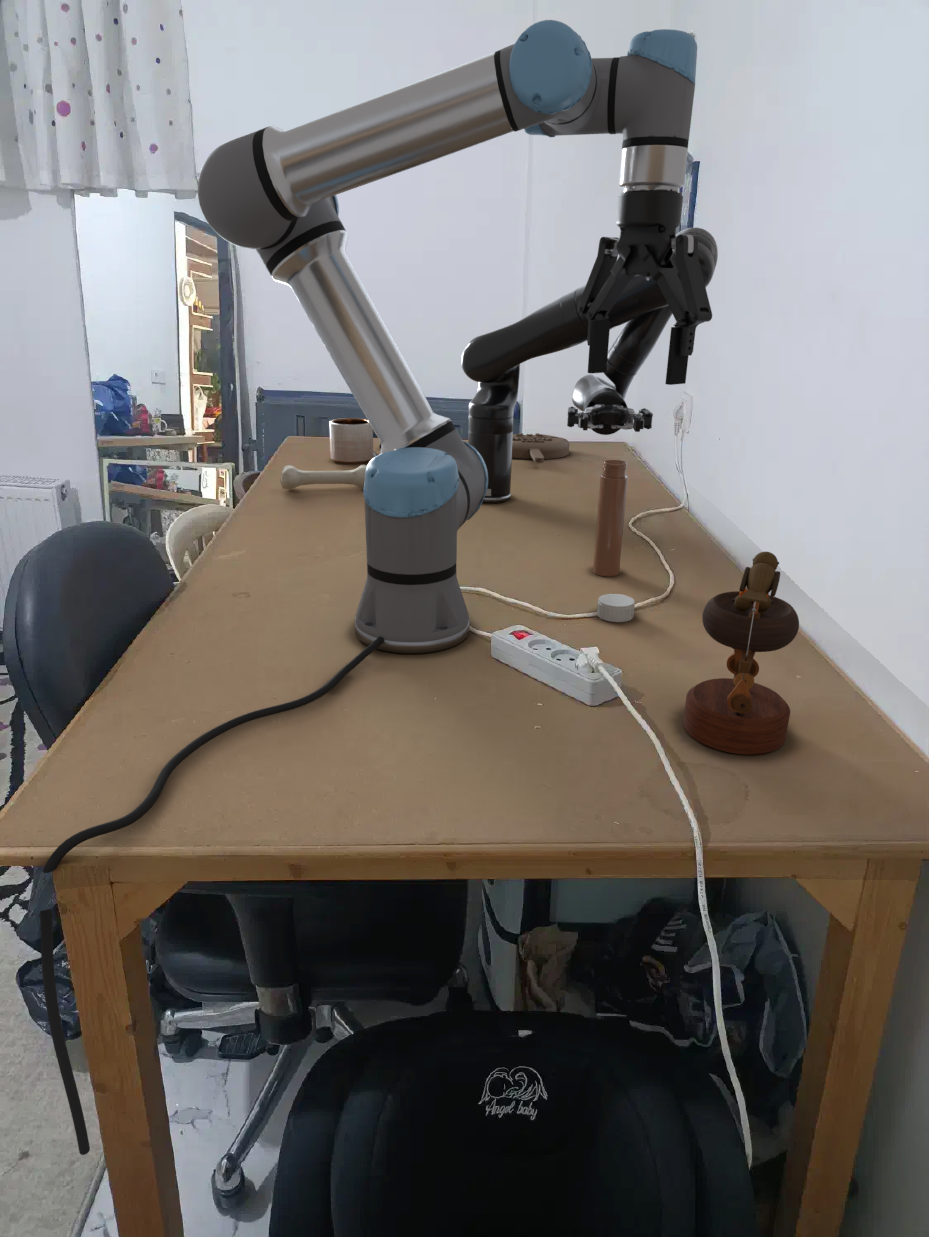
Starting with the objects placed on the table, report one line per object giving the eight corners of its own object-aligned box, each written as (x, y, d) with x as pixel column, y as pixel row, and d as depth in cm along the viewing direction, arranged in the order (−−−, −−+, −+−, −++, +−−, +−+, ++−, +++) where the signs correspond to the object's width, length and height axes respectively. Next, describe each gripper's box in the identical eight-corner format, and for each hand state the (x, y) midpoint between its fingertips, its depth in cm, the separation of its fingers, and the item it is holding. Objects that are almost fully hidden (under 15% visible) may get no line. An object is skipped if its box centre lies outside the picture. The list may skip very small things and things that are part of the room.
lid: (630, 609, 122) (632, 594, 121) (635, 623, 117) (637, 607, 116) (595, 608, 122) (596, 592, 121) (598, 622, 117) (600, 606, 116)
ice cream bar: (497, 468, 207) (497, 451, 206) (489, 446, 233) (489, 431, 231) (582, 468, 208) (583, 451, 207) (564, 447, 234) (565, 431, 232)
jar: (597, 577, 135) (606, 465, 128) (590, 568, 138) (598, 459, 132) (622, 576, 135) (632, 464, 128) (614, 567, 139) (624, 459, 132)
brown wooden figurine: (807, 766, 83) (825, 574, 75) (692, 766, 84) (698, 577, 77) (772, 695, 97) (784, 526, 89) (674, 696, 98) (678, 530, 91)
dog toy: (372, 483, 190) (372, 461, 188) (374, 490, 185) (374, 467, 183) (281, 485, 187) (280, 463, 185) (280, 492, 182) (278, 469, 180)
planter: (327, 456, 217) (325, 418, 214) (369, 454, 220) (368, 417, 217) (334, 465, 208) (332, 425, 204) (377, 463, 211) (376, 424, 207)
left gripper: (760, 186, 92) (733, 387, 100) (600, 199, 110) (588, 367, 119) (715, 181, 88) (691, 391, 96) (556, 195, 106) (547, 370, 114)
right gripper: (566, 388, 152) (569, 400, 137) (646, 389, 151) (658, 402, 136) (564, 430, 155) (567, 446, 140) (642, 432, 154) (653, 449, 139)
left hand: (634, 378), depth 107 cm, fingers open, 13 cm apart
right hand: (612, 424), depth 138 cm, fingers open, 8 cm apart
